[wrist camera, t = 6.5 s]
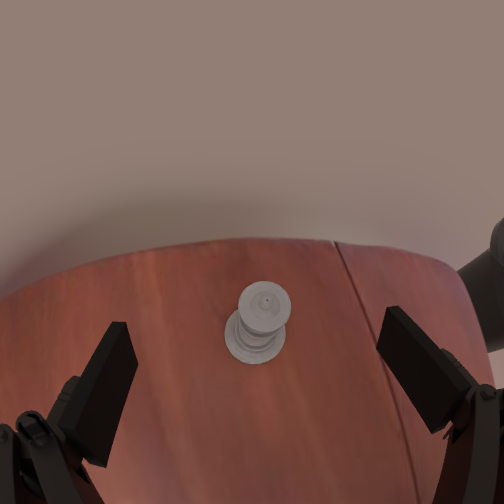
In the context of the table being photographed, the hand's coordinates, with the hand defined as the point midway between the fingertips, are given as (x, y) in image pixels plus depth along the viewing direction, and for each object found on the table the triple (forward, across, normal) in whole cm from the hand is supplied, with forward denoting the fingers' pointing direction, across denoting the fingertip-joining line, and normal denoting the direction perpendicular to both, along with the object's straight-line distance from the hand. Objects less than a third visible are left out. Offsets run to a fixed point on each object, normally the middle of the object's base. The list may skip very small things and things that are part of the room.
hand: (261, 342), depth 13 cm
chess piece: (+6, 0, -4) cm, 8 cm away
